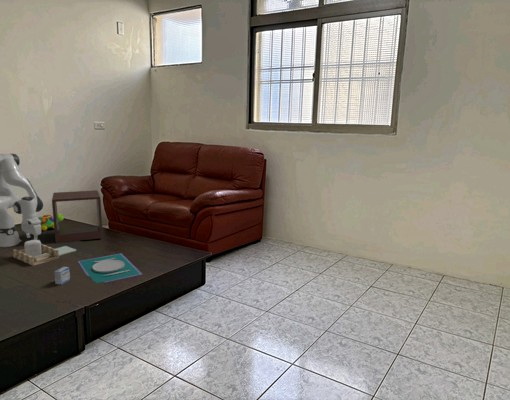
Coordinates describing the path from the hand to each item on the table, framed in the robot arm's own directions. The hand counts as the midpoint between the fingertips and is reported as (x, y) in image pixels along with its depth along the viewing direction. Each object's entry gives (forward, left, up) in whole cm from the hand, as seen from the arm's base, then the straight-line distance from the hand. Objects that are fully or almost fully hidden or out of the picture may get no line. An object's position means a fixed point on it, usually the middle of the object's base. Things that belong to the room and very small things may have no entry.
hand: (32, 238), depth 267 cm
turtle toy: (-61, +45, -14) cm, 78 cm away
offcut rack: (+3, 0, -13) cm, 14 cm away
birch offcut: (+11, 0, -12) cm, 16 cm away
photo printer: (0, 0, -14) cm, 14 cm away
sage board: (+5, +18, -14) cm, 23 cm away
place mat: (+58, +20, -15) cm, 63 cm away
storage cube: (-21, +48, -14) cm, 54 cm away
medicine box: (+56, -11, -14) cm, 58 cm away
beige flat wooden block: (+11, 0, -14) cm, 18 cm away
